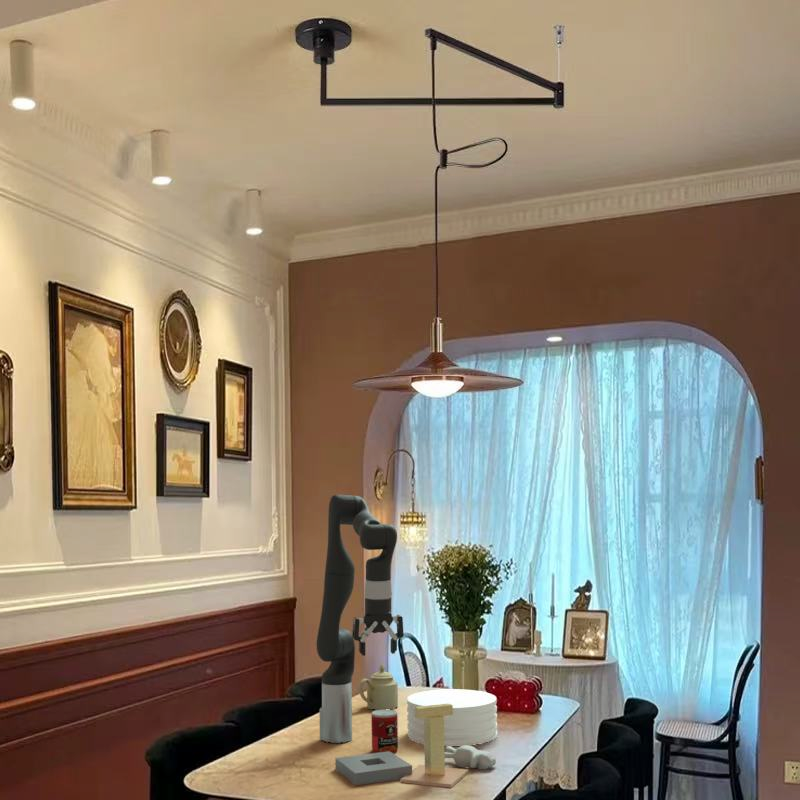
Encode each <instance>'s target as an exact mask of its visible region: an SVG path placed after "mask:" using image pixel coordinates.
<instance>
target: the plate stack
mask: <svg viewBox="0 0 800 800" xmlns="http://www.w3.org/2000/svg"><path fill="white" fill-rule="evenodd" d="M497 701H498V699H497V696H496V695H494V694H492V693H489V692H486V691H481V690H474V689H463V688H462V689H460V688H457V689H456V688H452V689H451V688H447V689H446V688H445V689H431V690H426V691H418V692H415V693H412V694H410V695H408V696H407V697H406V703H407V706H406V711H407V718H406V720H407V738H408V737H409V738H408V739H409V740H410V739H411V740H410V741H412V742H414V741H415V742H414V743H416V742H418V743H417V744H420V743H421V744H420V745H424V718H420V719H418V718H416V717H415V707H419V706H429V705H438V704H448V703H449V704H451V705H453V715H447V716H444V746H463V745H473V744H479V743H484V742H488V741H491V740H493V739H495V738H496V737H497V738H498V736H497V735H498V730H497V729H498V722H497V721H498V714H497V712H498V706H497V703H498V702H497ZM497 738H496V739H497ZM496 739H495V740H496ZM493 741H494V740H493ZM491 742H492V741H491ZM488 743H489V742H488Z"/></svg>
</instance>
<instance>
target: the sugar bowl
mask: <svg viewBox="0 0 800 800" xmlns="http://www.w3.org/2000/svg"><path fill="white" fill-rule="evenodd" d="M385 670H386V667H385V665H384V664H380V666H379V671H377V672H375V673H373V674H372V675H371V676H370V678H371V679H369V678H362V679H361V680H360V681H359V684H358V692H359V695H360V697H361V698H362V699H363V701H364V702H365V703H366V704H367V705H366V707H367V709H369V710H372V709H375V710H374V711H376V710H386V709H391V710H394V709H393V708H395V709H397V708H398V707H399V705H398V704H399V698H398V697H399V693H398V692H399V691H398V689H399V687H398V685H399V684H398V681H395V680H394V677H395V675H393V674H392V673H391V672H387V671H385ZM365 683H366V695H365V693H364V684H365ZM396 707H397V708H396Z"/></svg>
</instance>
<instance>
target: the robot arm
mask: <svg viewBox="0 0 800 800" xmlns="http://www.w3.org/2000/svg"><path fill="white" fill-rule="evenodd" d="M327 514H328V520H327V521H328V522H327V523H328V524H327V526H328V527H327V551H326V560H325V570H324V580H323V581H324V582H323V594H322V595H323V596H322V597H323V598H322V603H321V604H322V605H321V606H322V607H321V613H320V621H319V626H318V630H317V636H316V651H317V655H318V657H319V658H320V660H322V661H324V662H327V663H328V662H330V664H329V666H328V667H327V669H326V670H325V671H324V672H323V673H322V674H321V707H320V708H319V741H321V740H323V742H324V741H326V742H325V743H328V742H331V743H330V744H342V743H341V742H343V743H347V741H348V742H350V741H352V740H353V703H352V702H353V699H352V698H353V696H352V695H353V690H352V689H353V684H352V681H353V675H354V671H355V659H356V658H355V654H356V646H355V645H356V644H355V641H358V652H359V653H360V655H361V656H363V657H365V656H366V642H365V641H366V639H367V638H368V637H369V636H370V635H371V633H373V634H377V633H378V634H379V633H382V634H383V633H387V634H388V635H389V636H390V638H391V639H390V653H391V655H392V654H396V652H397V650H398V640H399V639H401V638H404V636H405V634H404V620H403V619H404V618H403V616H401V615H400V614H397V615H393V614H392V595H393V591H392V589H393V588H392V582H391V579H392V578H391V577H392V575H391V568H392V567H391V566H392V561H393V556H394V552H395V548H396V545H397V542H398V532H397V529H396V527H395V526H394V525H393V524H389V523H384V524H383V523H382V524H381V522H380V521H379V520H378V519H377V518H376V517H375V516H374V515H373V514H372V513H371V511H370V509H369V507H368V505H367V503H366V500H365V499H364V498H363V497H361V496H359V495H351V494H350V495H349V494H333V495H332V496H331V497H330V500H329V503H328V513H327ZM341 525H345V526H352V528H353V530H354V532H355V533H356V535H358V537H359V542H360V546H361V547H362V549H364V550H368V551H373V550H374V551H376V550H378V551H379V550H381V552H380V554H379V555H377V556H375V557H371V558H369V559H367V560H366V562H365V585H364V616H363V617H357V616H355V617H353V619H352V620H353V621H352V632H351V631H350V630H348V629H346V628H340V624H341V619H342V614H343V612H344V610H345V607H346V605H347V604H348V601H350V598H351V595H352V593H353V591H354V586H355V585H354V584H355V573H356V572H355V571H356V570H355V564H354V562H353V559H352V557H351V556H350V553H349V551H348V550H347V548H346V546H345V544H344V541H343V539H342V535H341V534H342V533H341ZM393 622H394V623H395V624H396V630H397V631H396V633H395V632H394V631H393V629H392V628H391V624H392V623H393ZM363 623H364V625H365V627H364V628H363V630H362V632H361V633H360V627H361V626H362V624H363Z"/></svg>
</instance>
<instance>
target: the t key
mask: <svg viewBox="0 0 800 800" xmlns="http://www.w3.org/2000/svg"><path fill="white" fill-rule="evenodd" d="M447 715H453V705H451V704H449V703H448V704H438V705H429V706H419V707H415V717H416V718H418V719H420V718H424V744H423V747H424V765H425V774H427V775H429V776H430V777H436V776H443V775H445V767H446V758H445V752H446V751H445V747H444V716H447Z"/></svg>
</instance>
